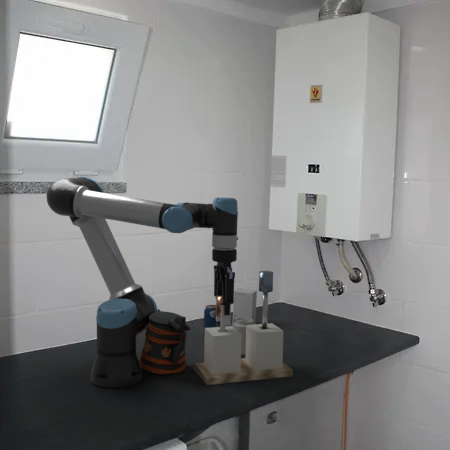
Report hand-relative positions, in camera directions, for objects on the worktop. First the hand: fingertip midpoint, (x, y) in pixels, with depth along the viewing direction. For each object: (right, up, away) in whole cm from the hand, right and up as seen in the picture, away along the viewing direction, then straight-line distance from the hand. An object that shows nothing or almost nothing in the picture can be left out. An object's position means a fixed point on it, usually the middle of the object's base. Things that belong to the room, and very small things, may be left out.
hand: (223, 322), depth 182 cm
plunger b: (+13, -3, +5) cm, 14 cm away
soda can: (-4, -13, +40) cm, 43 cm away
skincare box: (+8, -11, +54) cm, 56 cm away
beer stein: (-18, -15, +4) cm, 24 cm away
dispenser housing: (+6, -14, +4) cm, 16 cm away
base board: (+6, -16, +4) cm, 18 cm away
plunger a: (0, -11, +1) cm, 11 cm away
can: (+7, -15, +23) cm, 28 cm away
